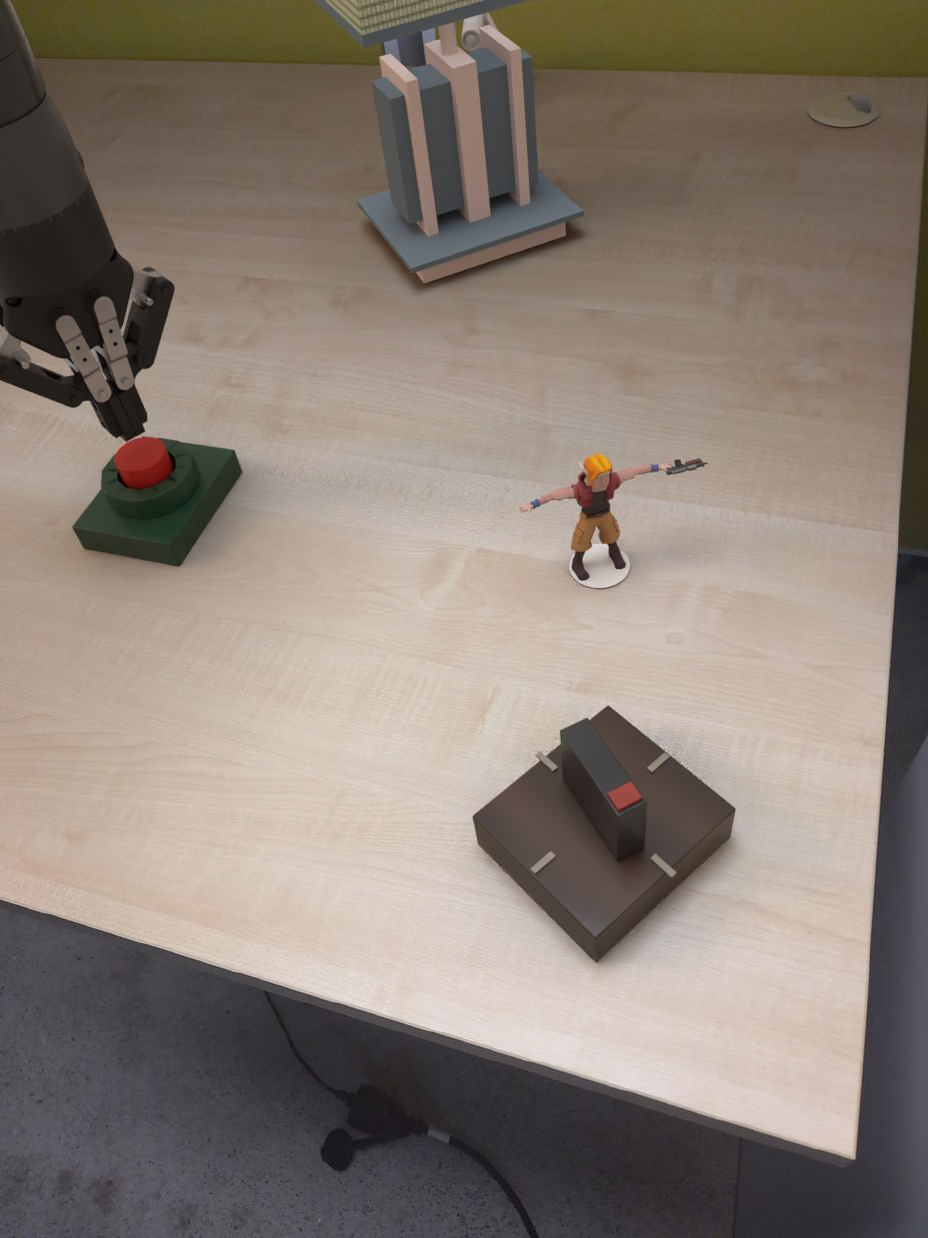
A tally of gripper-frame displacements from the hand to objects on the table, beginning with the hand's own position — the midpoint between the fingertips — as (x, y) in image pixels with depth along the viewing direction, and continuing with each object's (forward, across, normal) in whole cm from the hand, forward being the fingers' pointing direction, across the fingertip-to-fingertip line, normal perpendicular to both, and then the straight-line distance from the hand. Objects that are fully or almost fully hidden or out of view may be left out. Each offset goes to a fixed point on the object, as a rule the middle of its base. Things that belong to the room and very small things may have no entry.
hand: (129, 431), depth 70 cm
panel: (+7, -4, +41) cm, 42 cm away
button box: (+7, 0, 0) cm, 7 cm away
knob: (+4, -4, +41) cm, 41 cm away
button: (+4, 0, 0) cm, 4 cm away
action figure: (+7, -19, +27) cm, 34 cm away
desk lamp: (+8, -40, -12) cm, 42 cm away
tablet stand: (+8, -61, -32) cm, 69 cm away
